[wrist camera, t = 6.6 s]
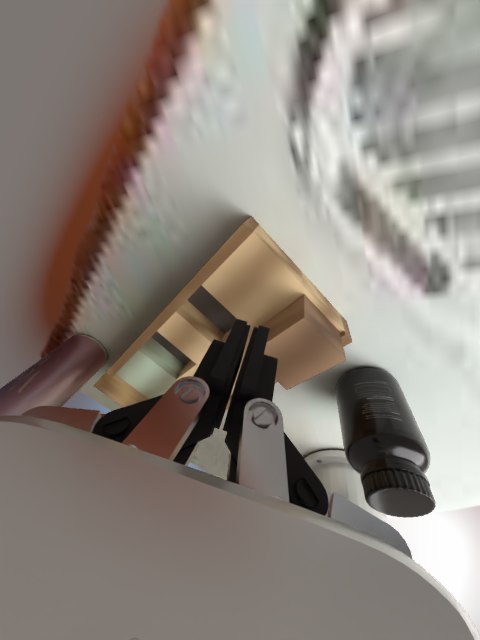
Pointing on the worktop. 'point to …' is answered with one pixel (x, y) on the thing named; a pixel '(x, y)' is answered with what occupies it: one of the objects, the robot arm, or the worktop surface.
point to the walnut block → (302, 342)
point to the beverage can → (54, 376)
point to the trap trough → (213, 315)
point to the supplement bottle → (384, 443)
